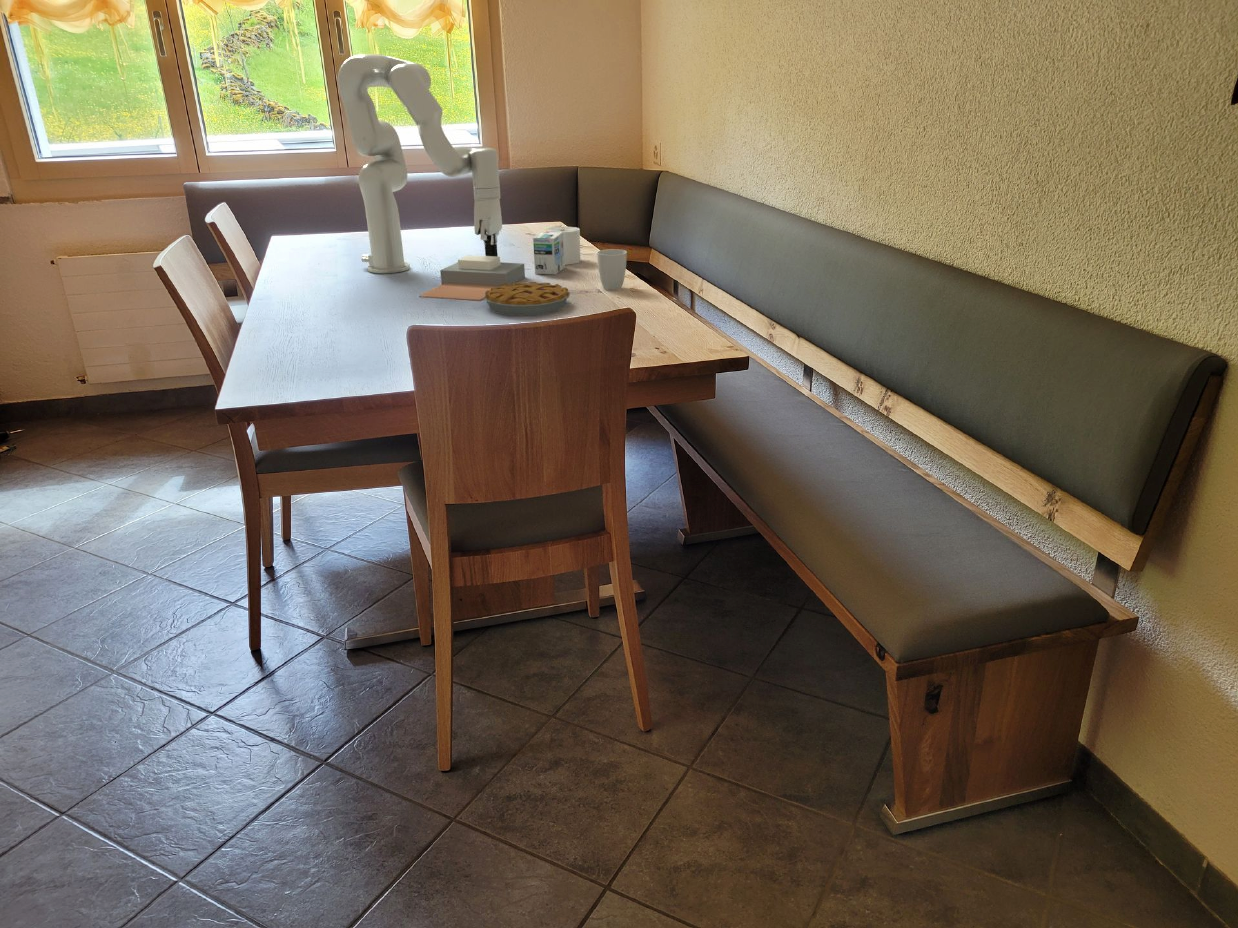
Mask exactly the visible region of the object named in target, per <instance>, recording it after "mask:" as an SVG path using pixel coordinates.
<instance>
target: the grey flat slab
mask: <svg viewBox="0 0 1238 928" xmlns="http://www.w3.org/2000/svg"><path fill="white" fill-rule="evenodd" d="M525 269H526V268H525V263H521V262H517V263H516V262H503V261H500V266H498V267H496V268H494V269H492V270H479V269H461V268H458V261H457V262H455V263H453V264H451V265H448V266H446V267H444V268H442V269H440V270H439V271H440V282H441V284H440V285H442V284H444V283H447V284H463V285H480V286H497V287H501V285H503V284H509V285H511V284H515V283H516V282H520V281H521V280H523V279H524V278H526V271H525Z"/></svg>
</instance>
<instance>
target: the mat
mask: <svg viewBox="0 0 1238 928" xmlns="http://www.w3.org/2000/svg"><path fill="white" fill-rule="evenodd" d="M494 287H497V286H480V285H463V284H447V283H444V284H440V285H438V286H437V287H434V288H432V289H430V290H428V291H426V292H424V293H422V294H420V295H419V296H418V297H419V298H431V299H432V298H433V299H449V300H464V301H478V302H480V301H482V300H485V299H484V296H485V295H486V291H487V290H489V291H491V288H494Z"/></svg>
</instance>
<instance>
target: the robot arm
mask: <svg viewBox="0 0 1238 928" xmlns="http://www.w3.org/2000/svg"><path fill="white" fill-rule="evenodd" d="M431 79H432V78H431V76H430V73H429V72H428V70H427V69H426V68H425V67H424V66H423V65H421V64H419V63H415V62H411V61H408V60H405V59H404V60H403V59H400V58H397V57H393V56H388V55H386V54H374V53H373V54H372V53H371V54H370V53H363V54H362V53H361V54H354V55H353V56H349V58H347V59H346V60H345V61H344V62H343V63H342V64H341V66H340V67H339V70H338V73H337V89H338V91H339V95H340V99H341V102H342V105H343V109H344V112H345V116H346V122H347V124H348V128H349V132H350V137H351V140H352V143H353V146H354V149H355V151H356V152H357V153H358V154H359V155H361V156H363V157H366V158H367V157H369V158H371V157H373V158H374V161H370V162H367V163H366V164H365V165H363V166H362V168H361V169H360V171H359V174H358V185H359V188H360V189H359V190H360V192H361V195H362V200H363V205H364V209H365V211H364V212H365V217H366V223H367V231H368V238H369V239H368V240H369V247H370V254H362V257H361V262H362V263H368V264H369V265H368V266H367V271H368V272H370V273H373V274H395V273H401V272H405V271H407V270H410V268H411V266H410V265H411V264H410V263H408V262H407V261H406V262H405V257H404V249H403V240H402V230H401V221H400V213H399V207H398V203H397V201H396V197H395V195H394V192H398V191H400V190H402V189H403V188H404V187H405V186H406V184H407V182H408V170H407V169H408V168H407V165H406V161H405V157H404V154H403V147H402V143H401V140H400V137H399V135H398V133H397V131H396V129H395V128H394V126H392V124H391V123H389V122H387V121H384V120H379V117H378V114H377V111H376V107H375V103H374V101H373V99H372V97H371V95H370V93H369V91H368V89H369V88H376V87H377V88H379V87H381V88H382V87H383V88H388V89H391V90H392V91H393V92H394V94H395V96H396V97H397V99H398V100H399V101H400V103H401V104H402V106H403V107H404V108H405V110H406V111H407V112H408V114H409V115H410V117H411V119H412V120H413V121H414V123H415V125H416V126H417V128H418V134H419V136H420V140H421V143H422V146H423V148H424V150H425V153H426V155H428V157H429V158H430V159H431V161H432V162H433V164H434V165H435V167H436V168H437V169H438V170H439V172H441V173H442V174H443V175H444V176H446V177H449V178H456V177H459V176H463V175H468V174H472V175H471V176H472V185H473V186H472V188H473V199H474V203H473V204H474V205H473V206H474V207H473V221H474V222H473V226H474V228H473V229H474V234H475V235H477V236H480V241H483V245H484V251H485V253H484V254H485V255H484V256H495V257H499V256H498V255H499V254H498V245H497V244H498V236H499V235H500V232H501V230H503V218H502V209H501V203H500V202H501V201H500V199H501V187H500V171H499V157H498V156H499V155H498V152H497V150H496V149H495V148H493V147H492V148H491V147H479V148H478V147H477V148H475V147H469V146H457V147H453V145H452V144H451V142H450V141H449V140H448V138H447V136H446V134H445V132H444V130H443V127H442V126H443V125H442V116H443V108H442V107H441V105H440V103H439V101H438V100H437V99H436V98H435V96H434V95H433V94H432V92H431V90H430V88H431V85H432V80H431Z"/></svg>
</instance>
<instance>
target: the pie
mask: <svg viewBox="0 0 1238 928" xmlns="http://www.w3.org/2000/svg"><path fill="white" fill-rule="evenodd" d="M570 294H571V292H570V291H569V289H568V287H566V286H565V287H563V286H561V285H560V284H558V283H557V284H551V283H550V282H543V283H542V282H541V283H539V282H537V281H530V282H525V281H524V282H522V281H518V282H516V283H514V284H511V285H509V284H503V285H501V287H494V288H491V291H489V290H487V291H486V295H485V296H484V299H483V300H484V301H486V303H487V305H488V307H489V309H490V310H491V311H493V312H494V313H498V314H502V315H506V316H507V315H508V316H516V317H517V316H518V317H533V316H534V317H535V316H541V315H547V314H550V313H554V312H558V311H559V310H562V309H563V308H564V307H565V304H566V302H567V300H568V299H569V297H570Z"/></svg>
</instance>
